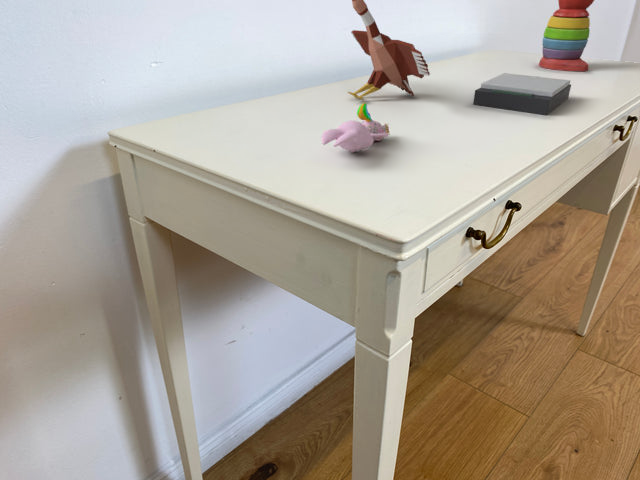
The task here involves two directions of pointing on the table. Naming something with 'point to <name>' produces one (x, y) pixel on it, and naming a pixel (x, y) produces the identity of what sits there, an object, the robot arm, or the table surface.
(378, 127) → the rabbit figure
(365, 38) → the decorative bird
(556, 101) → the scale
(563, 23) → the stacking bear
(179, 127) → the table surface
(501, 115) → the table surface
